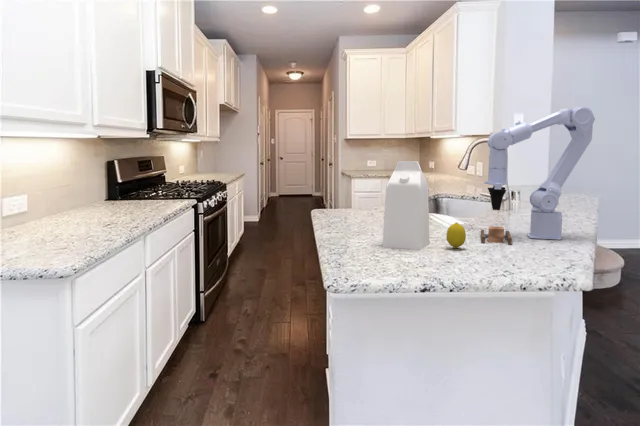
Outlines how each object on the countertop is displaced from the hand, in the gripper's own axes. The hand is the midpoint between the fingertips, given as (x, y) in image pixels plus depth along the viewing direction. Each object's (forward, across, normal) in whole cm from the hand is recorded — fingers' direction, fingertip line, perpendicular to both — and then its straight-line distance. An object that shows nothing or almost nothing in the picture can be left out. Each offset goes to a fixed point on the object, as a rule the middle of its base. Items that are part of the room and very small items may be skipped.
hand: (495, 209), depth 163 cm
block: (+10, +8, 0) cm, 13 cm away
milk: (+10, +22, -27) cm, 36 cm away
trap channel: (+9, +6, 0) cm, 11 cm away
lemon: (+10, +24, -12) cm, 28 cm away
